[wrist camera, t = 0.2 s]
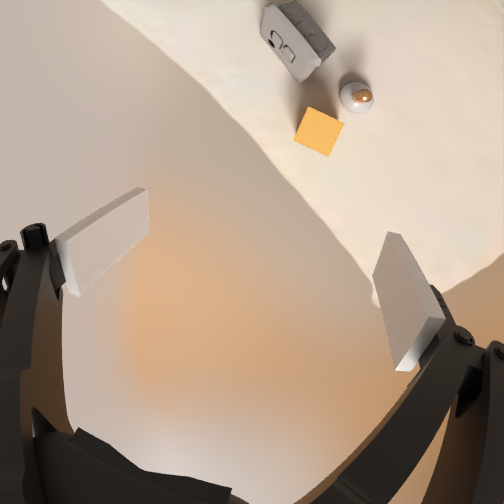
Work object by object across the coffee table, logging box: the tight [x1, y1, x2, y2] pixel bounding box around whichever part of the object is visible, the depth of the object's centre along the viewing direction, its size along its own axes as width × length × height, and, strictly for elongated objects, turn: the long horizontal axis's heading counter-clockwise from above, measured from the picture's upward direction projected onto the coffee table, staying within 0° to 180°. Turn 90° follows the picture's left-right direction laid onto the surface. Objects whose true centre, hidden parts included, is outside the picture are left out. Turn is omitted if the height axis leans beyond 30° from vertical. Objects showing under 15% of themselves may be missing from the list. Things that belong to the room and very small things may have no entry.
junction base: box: [340, 82, 374, 114], centre depth 31 cm, size 4×4×2 cm
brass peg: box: [351, 89, 372, 103], centre depth 28 cm, size 2×2×6 cm
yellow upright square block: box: [293, 107, 344, 157], centre depth 32 cm, size 4×4×7 cm
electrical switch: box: [260, 1, 336, 83], centre depth 26 cm, size 9×5×9 cm, turn 35°
